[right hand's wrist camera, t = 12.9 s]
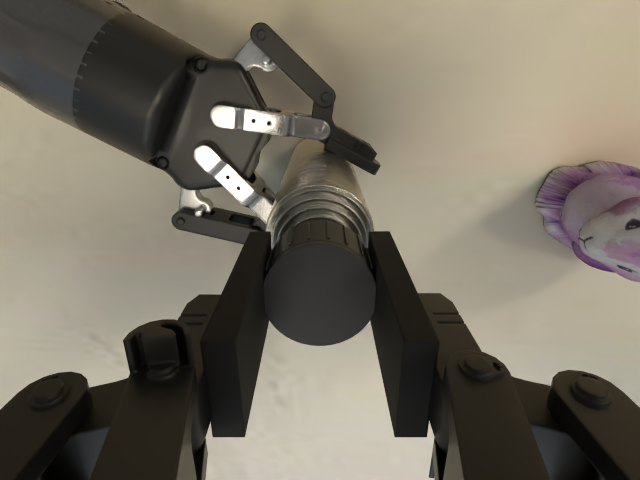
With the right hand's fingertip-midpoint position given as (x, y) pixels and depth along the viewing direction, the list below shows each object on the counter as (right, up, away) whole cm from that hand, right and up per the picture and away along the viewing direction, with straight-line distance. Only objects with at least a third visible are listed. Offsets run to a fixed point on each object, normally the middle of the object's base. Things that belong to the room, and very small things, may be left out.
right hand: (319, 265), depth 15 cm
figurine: (+22, +4, +19) cm, 29 cm away
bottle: (0, +7, +17) cm, 19 cm away
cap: (0, -1, -2) cm, 2 cm away
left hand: (+2, +3, +12) cm, 12 cm away
